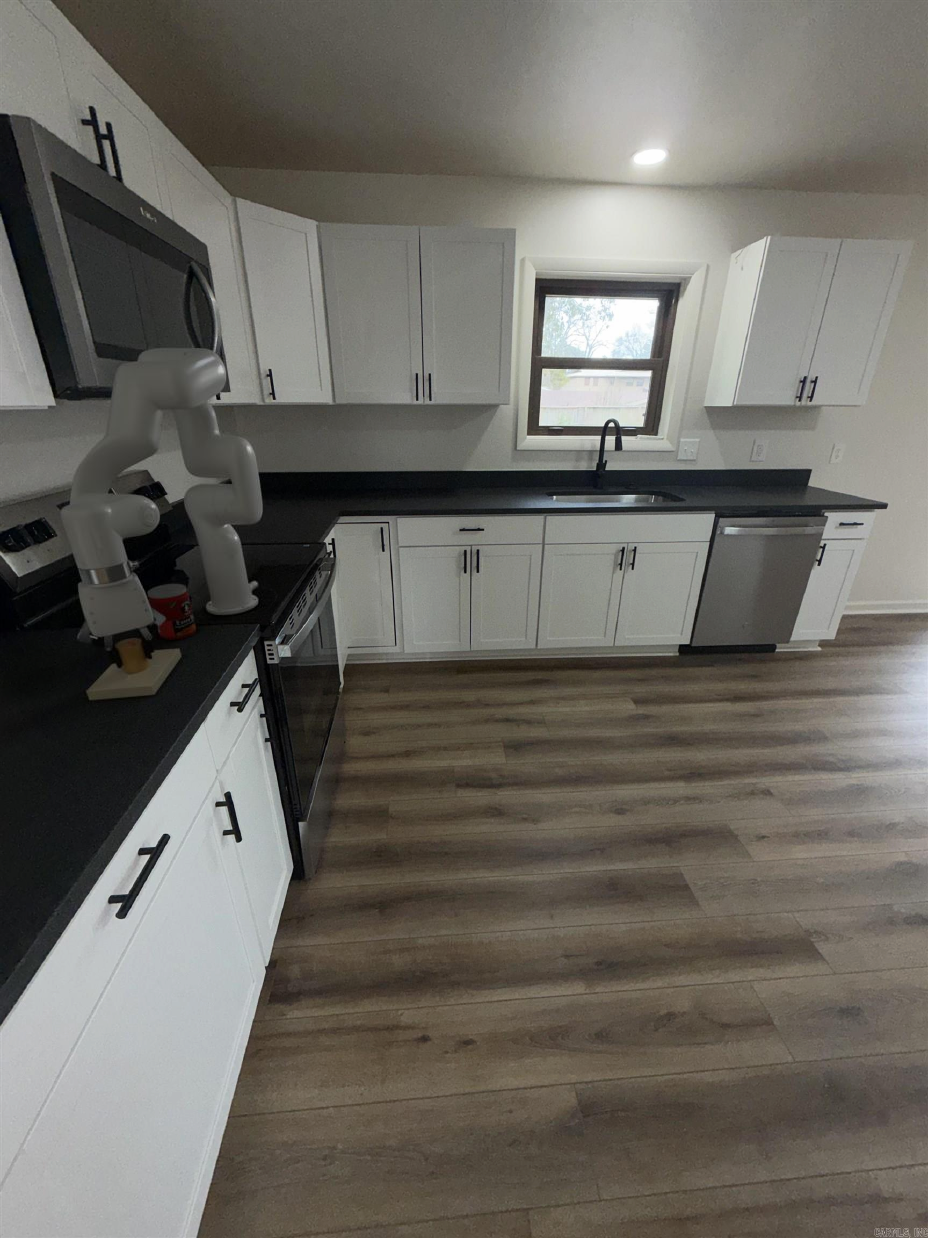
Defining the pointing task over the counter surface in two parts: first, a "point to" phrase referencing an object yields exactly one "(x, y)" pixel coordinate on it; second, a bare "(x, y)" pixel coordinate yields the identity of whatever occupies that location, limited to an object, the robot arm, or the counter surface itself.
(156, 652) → the plate
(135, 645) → the tap handle
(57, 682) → the counter surface
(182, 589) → the canned food
